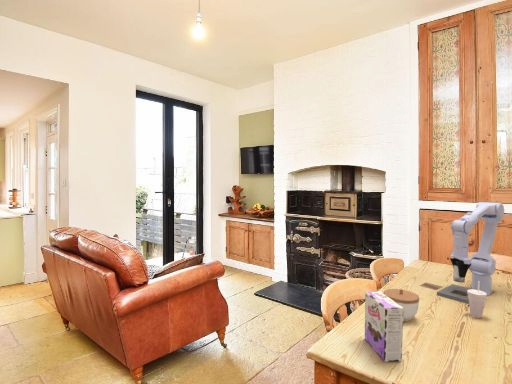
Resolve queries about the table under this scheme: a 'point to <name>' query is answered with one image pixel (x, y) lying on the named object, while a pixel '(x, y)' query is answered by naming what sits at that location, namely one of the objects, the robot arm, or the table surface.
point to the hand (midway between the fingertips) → (459, 275)
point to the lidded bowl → (404, 301)
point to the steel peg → (457, 275)
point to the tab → (431, 286)
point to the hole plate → (452, 289)
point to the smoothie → (476, 301)
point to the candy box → (384, 326)
